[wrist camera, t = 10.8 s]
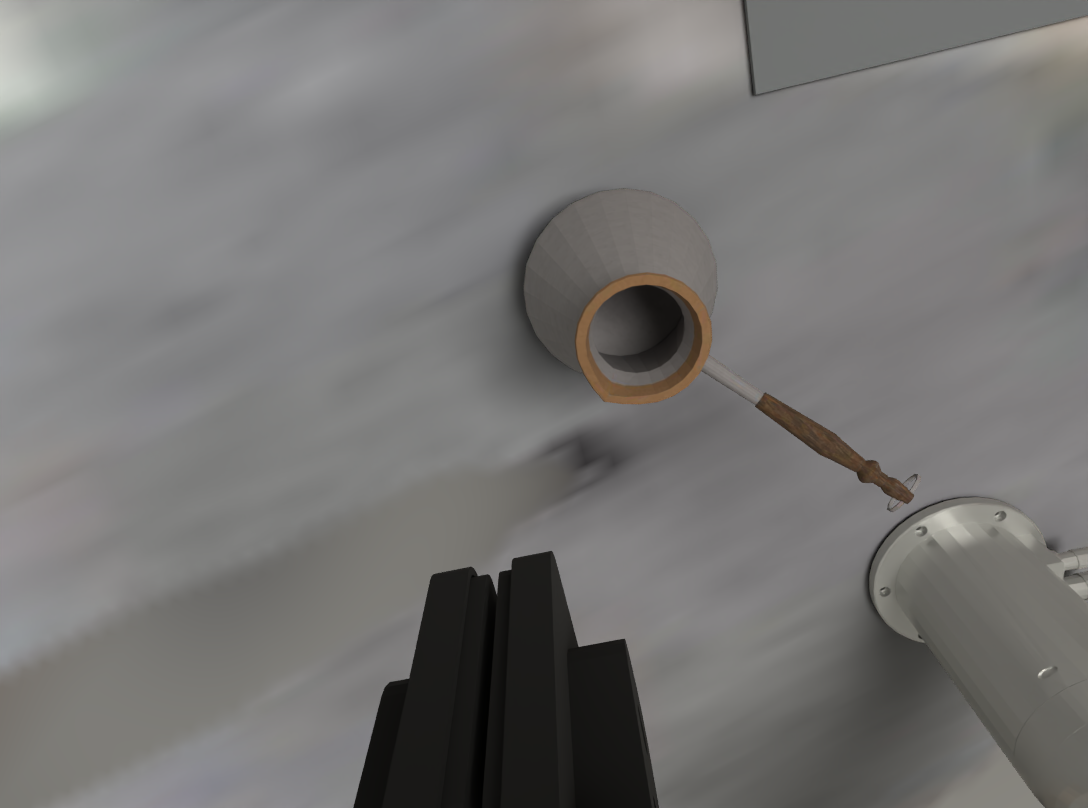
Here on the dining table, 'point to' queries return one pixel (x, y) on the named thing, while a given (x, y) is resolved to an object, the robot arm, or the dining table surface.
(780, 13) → the mat
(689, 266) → the coffee pot
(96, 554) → the dining table surface
